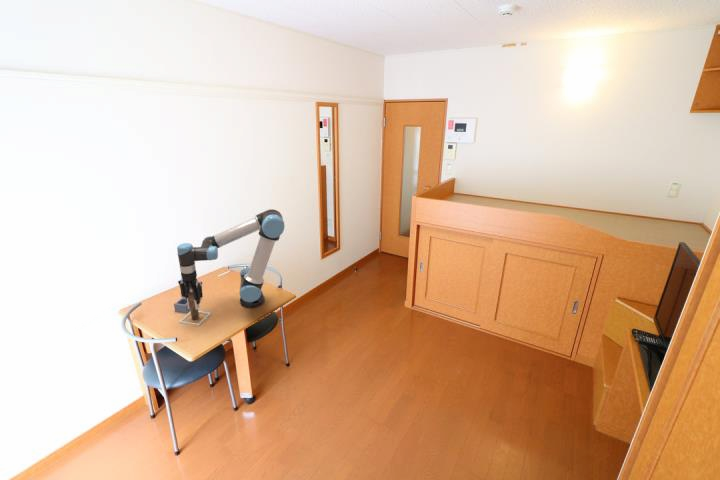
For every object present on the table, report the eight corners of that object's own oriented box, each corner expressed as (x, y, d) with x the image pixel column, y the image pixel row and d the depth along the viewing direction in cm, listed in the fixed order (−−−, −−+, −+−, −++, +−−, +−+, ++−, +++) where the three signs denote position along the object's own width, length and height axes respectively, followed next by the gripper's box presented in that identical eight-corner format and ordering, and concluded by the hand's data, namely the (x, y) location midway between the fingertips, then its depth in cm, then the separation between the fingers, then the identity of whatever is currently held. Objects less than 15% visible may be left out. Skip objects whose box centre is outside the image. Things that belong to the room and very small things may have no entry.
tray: (211, 315, 197) (211, 313, 197) (198, 327, 186) (198, 324, 186) (193, 312, 199) (192, 310, 199) (179, 324, 188) (179, 321, 187)
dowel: (200, 315, 194) (197, 291, 188) (196, 319, 190) (192, 295, 184) (194, 314, 194) (190, 290, 189) (190, 318, 191) (186, 294, 185)
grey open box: (194, 307, 204) (193, 299, 202) (186, 314, 197) (185, 305, 195) (183, 306, 205) (182, 297, 203) (175, 312, 198) (173, 304, 196)
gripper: (206, 270, 184) (211, 306, 192) (179, 266, 186) (185, 302, 195) (198, 276, 177) (203, 313, 185) (169, 272, 179) (176, 309, 188)
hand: (194, 307), depth 190 cm, fingers closed on dowel, 4 cm apart
